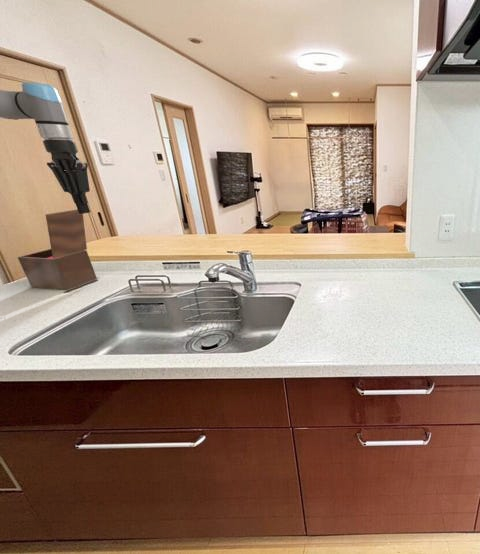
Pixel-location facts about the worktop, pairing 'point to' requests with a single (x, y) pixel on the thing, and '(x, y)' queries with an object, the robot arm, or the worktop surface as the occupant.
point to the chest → (58, 270)
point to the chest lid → (66, 232)
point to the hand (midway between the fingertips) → (84, 212)
